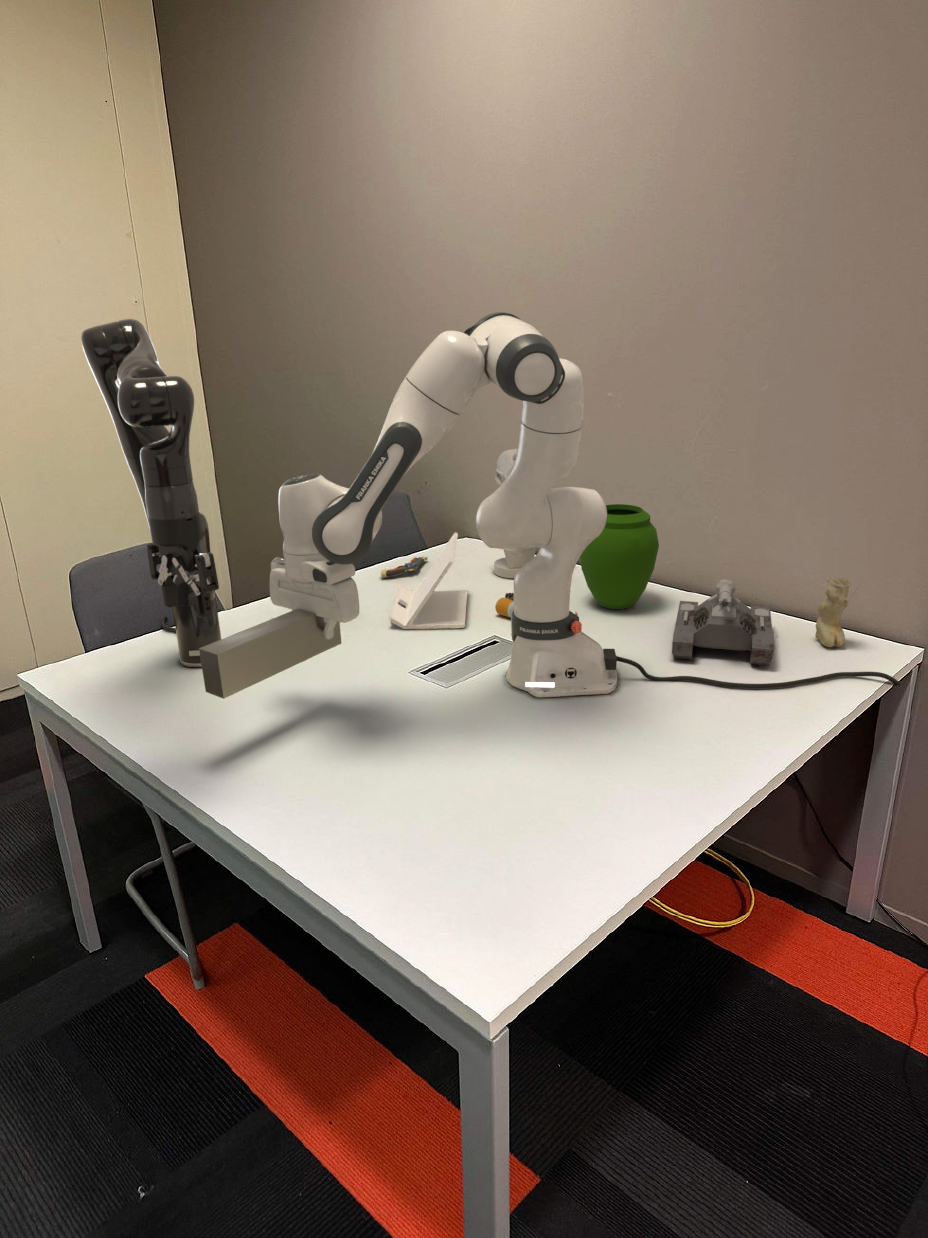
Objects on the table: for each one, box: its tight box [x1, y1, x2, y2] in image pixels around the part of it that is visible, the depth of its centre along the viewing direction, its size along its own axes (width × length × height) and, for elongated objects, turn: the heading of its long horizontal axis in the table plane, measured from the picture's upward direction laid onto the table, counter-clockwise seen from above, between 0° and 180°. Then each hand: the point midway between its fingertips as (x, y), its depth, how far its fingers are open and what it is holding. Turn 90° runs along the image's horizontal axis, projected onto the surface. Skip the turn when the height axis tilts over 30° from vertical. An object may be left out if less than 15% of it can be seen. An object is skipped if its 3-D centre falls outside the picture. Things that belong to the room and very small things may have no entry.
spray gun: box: [494, 592, 514, 619], centre depth 211 cm, size 4×17×15 cm
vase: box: [579, 503, 660, 610], centre depth 210 cm, size 20×20×24 cm
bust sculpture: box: [493, 448, 537, 579], centre depth 231 cm, size 16×24×35 cm
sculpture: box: [814, 576, 852, 648], centre depth 185 cm, size 6×7×15 cm
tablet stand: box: [388, 531, 468, 630], centre depth 211 cm, size 18×25×17 cm
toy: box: [671, 578, 775, 666], centre depth 186 cm, size 25×20×15 cm
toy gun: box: [380, 556, 429, 579], centre depth 246 cm, size 3×19×10 cm
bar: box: [199, 609, 342, 699], centre depth 152 cm, size 28×5×8 cm, turn 144°
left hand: (188, 610), depth 137 cm, fingers open, 8 cm apart
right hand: (316, 634), depth 160 cm, fingers closed on bar, 5 cm apart
